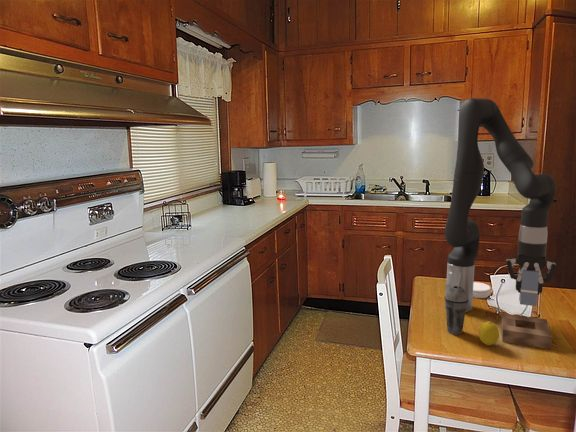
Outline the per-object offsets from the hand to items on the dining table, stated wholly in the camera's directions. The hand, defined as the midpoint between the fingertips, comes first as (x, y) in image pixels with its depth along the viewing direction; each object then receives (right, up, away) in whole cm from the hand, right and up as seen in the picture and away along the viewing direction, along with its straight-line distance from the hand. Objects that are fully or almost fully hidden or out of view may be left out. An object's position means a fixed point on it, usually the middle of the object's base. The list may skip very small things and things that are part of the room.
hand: (528, 292), depth 132 cm
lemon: (-14, -16, -2) cm, 21 cm away
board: (0, -14, +3) cm, 15 cm away
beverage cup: (-20, -14, +7) cm, 26 cm away
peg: (0, -3, +1) cm, 3 cm away
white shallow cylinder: (+1, -8, +38) cm, 39 cm away
